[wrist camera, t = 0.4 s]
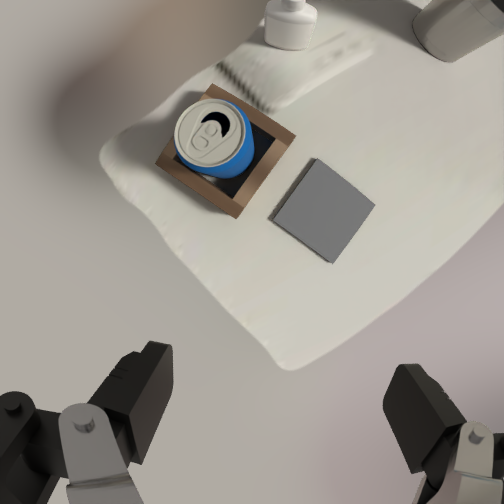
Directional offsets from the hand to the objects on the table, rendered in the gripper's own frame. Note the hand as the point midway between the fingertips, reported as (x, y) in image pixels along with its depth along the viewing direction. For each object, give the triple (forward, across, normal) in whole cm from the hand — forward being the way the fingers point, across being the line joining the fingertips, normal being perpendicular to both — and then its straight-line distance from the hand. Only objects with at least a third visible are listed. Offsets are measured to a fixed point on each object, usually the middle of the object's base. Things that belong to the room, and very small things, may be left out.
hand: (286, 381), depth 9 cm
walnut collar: (+26, +6, -10) cm, 28 cm away
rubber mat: (+26, -6, -4) cm, 27 cm away
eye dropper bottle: (+26, +1, -26) cm, 37 cm away
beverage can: (+26, +6, -10) cm, 29 cm away
